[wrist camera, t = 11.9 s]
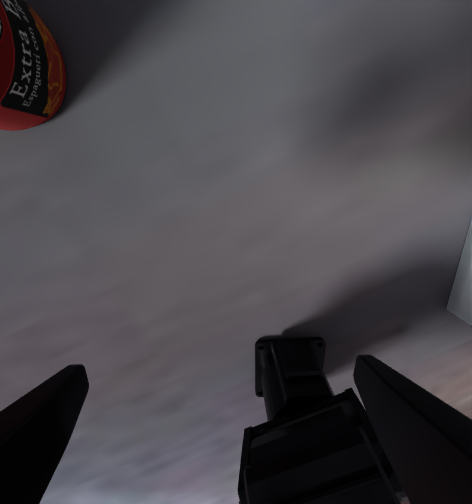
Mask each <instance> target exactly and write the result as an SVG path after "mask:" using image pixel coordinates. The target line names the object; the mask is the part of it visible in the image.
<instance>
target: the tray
mask: <svg viewBox="0 0 472 504" xmlns="http://www.w3.org/2000/svg"><path fill="white" fill-rule="evenodd" d="M446 310H448V311H449V312H451V313H452V314H454V315H455V316H457V317H458V318H460V319H461V320H463V321H464V322H466V323H467V324H469V325H470V326H472V219H471V223H470V226H469V230H468V233H467V237H466V240H465V244H464V247H463V251H462V254H461V258H460V261H459V265H458V269H457V272H456V276H455V279H454V283H453V286H452V290H451V293H450V297H449V300H448V304H447V307H446Z"/></svg>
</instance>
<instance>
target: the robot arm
mask: <svg viewBox="0 0 472 504" xmlns="http://www.w3.org/2000/svg"><path fill="white" fill-rule="evenodd" d="M320 342H321V343H320ZM318 343H320V344H318ZM260 345H262V347H259V346H260ZM324 354H325V341H324V340H323V338H320V337H316V338H296V339H276V340H259V341H257V342H256V343H255V393H256V395H257V396H258V397H264V401H265V407H266V413H267V419H268V421H267V422H265V423H262V424H260V425H257V426H254V427H251V426H250V427H248V428H245V429H244V438H243V445H242V454H241V464H240V473H239V482H238V495H239V499H240V501H239V504H400V503H401V502H404V501H407V500H409V502H410V504H472V419H470V418H468V417H467V416H465V415H464V414H462V413H461V412H459V411H458V410H456V409H454V408H453V407H451V406H450V405H448V404H447V403H445V402H444V401H442V400H440V399H439V398H437V397H436V396H434V395H433V394H431V393H430V392H428V391H426V390H425V389H423V388H422V387H420V386H419V385H417V384H416V383H414V382H412V381H411V380H409V379H408V378H406V377H405V376H403V375H402V374H400V373H398V372H397V371H395V370H394V369H392V368H391V367H389V366H388V365H386V364H384V363H383V362H381V361H380V360H378V359H377V358H375V357H374V356H372V355H358V356H357V359H356V363H355V368H354V373H353V377H354V381H355V384H356V387H357V389H358V392H359V394H360V397H361V399H362V402H363V404H364V407H365V409H364V407H363V405H362V404H361V402H360V401H359V399H358V397H357V396H356V394H355V393H354V391H353V389H352V388H349V389H346V390H345V392H343V393H340V394H337V395H334V393H333V391H332V389H331V387H330V385H329V383H328V380H327V378H326V376H325V374H324V372H323V363H324ZM88 389H89V382H88V378H87V374H86V370H85V367H84V366H83V365H81V364H76V365H68V366H67V367H65V368H64V369H62V370H61V371H59V372H58V373H56V374H55V375H53V376H52V377H50V378H49V379H47V380H46V381H44V382H43V383H42V384H40V385H39V386H37V387H36V388H34V389H33V390H31V391H30V392H28V393H27V394H25V395H24V396H22V397H21V398H19V399H18V400H17V401H15V402H14V403H12V404H11V405H9V406H8V407H6V408H5V409H3V410H2V411H0V504H39V503H40V501H41V499H42V497H43V495H44V493H45V491H46V489H47V487H48V485H49V482H50V480H51V478H52V476H53V474H54V472H55V470H56V468H57V466H58V464H59V462H60V460H61V458H62V456H63V454H64V451H65V449H66V447H67V445H68V442H69V440H70V438H71V435H72V432H73V430H74V427H75V425H76V422H77V419H78V417H79V414H80V411H81V409H82V406H83V403H84V401H85V398H86V395H87V393H88ZM259 391H261V392H259Z"/></svg>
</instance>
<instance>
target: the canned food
mask: <svg viewBox="0 0 472 504" xmlns="http://www.w3.org/2000/svg"><path fill="white" fill-rule="evenodd" d="M65 91H66V71H65V65H64V61H63V58H62V54H61V52H60V50H59V48H58V45H57V43H56V41H55V39H54V38H53V36H52V35H51V33H50V32H49V30H48V29H47V27H46V26H45V24H44V23H43V21H42V20H41V18H40V17H39V16H38V15H37V14H36V13H35V12H34V10H33V9H32V8H31V7H30V6H29V5H28V4H27V3H25V2H24V1H23V0H0V129H2V130H12V131H13V130H24V129H28V128H31V127H34V126H37V125H40V124H42V123H44V122H46V121H47V120H49V119H50V118H51V117H52V116H53V115H54V114H55V113H56V112H57V111H58V109H59V107H60V105H61V104H62V102H63V98H64V95H65Z"/></svg>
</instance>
